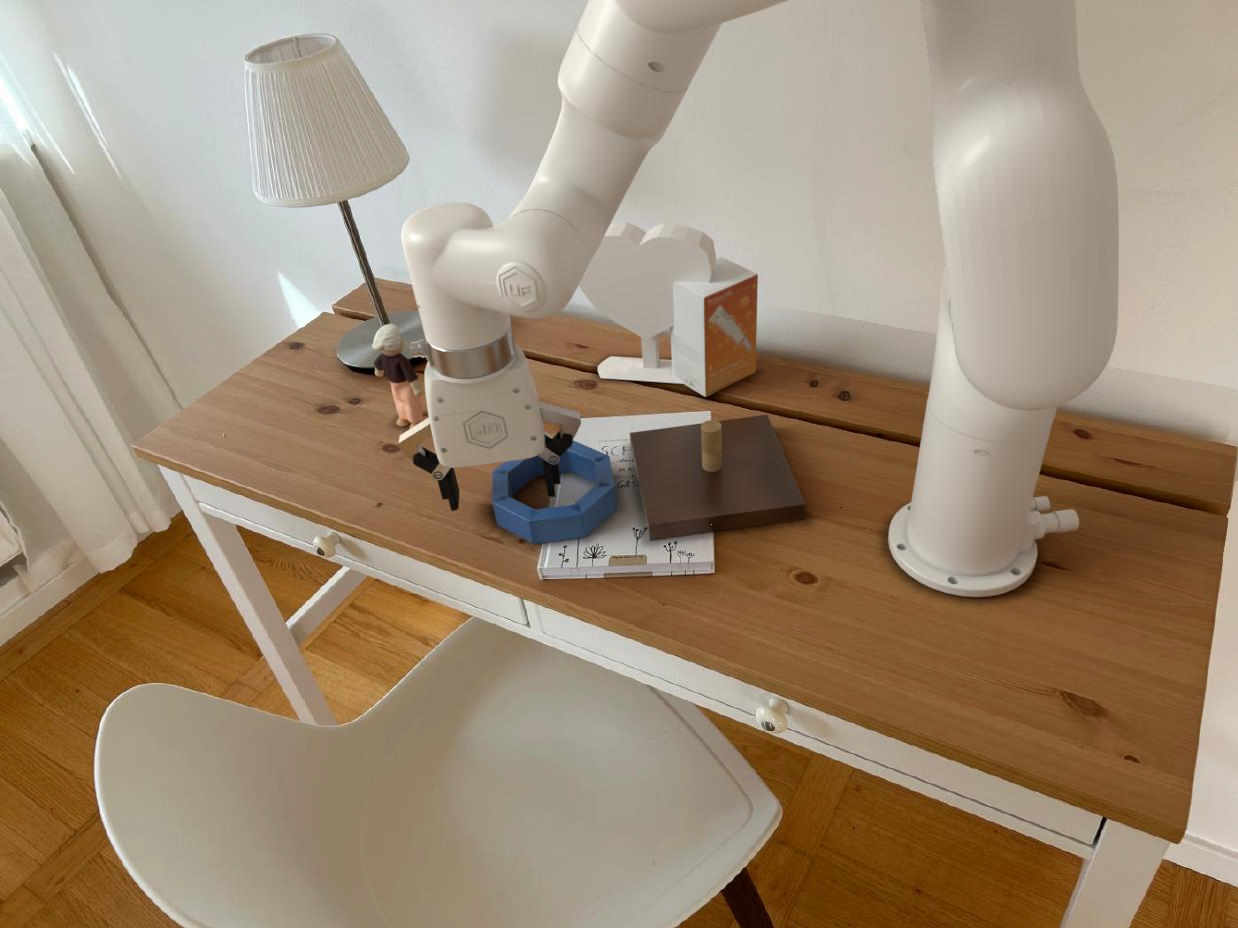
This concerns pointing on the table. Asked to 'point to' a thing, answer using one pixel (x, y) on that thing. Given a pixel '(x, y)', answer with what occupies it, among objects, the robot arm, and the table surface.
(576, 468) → the ring
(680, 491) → the platform
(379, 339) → the grandmother figurine
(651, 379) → the heart sculpture
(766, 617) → the table surface
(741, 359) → the small box
